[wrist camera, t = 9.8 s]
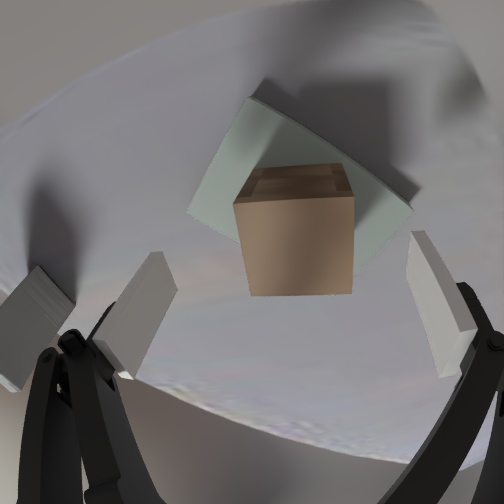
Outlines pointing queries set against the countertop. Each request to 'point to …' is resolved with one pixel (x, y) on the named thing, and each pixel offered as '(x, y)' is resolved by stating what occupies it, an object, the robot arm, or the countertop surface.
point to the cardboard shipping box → (297, 230)
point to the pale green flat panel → (291, 154)
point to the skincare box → (29, 326)
